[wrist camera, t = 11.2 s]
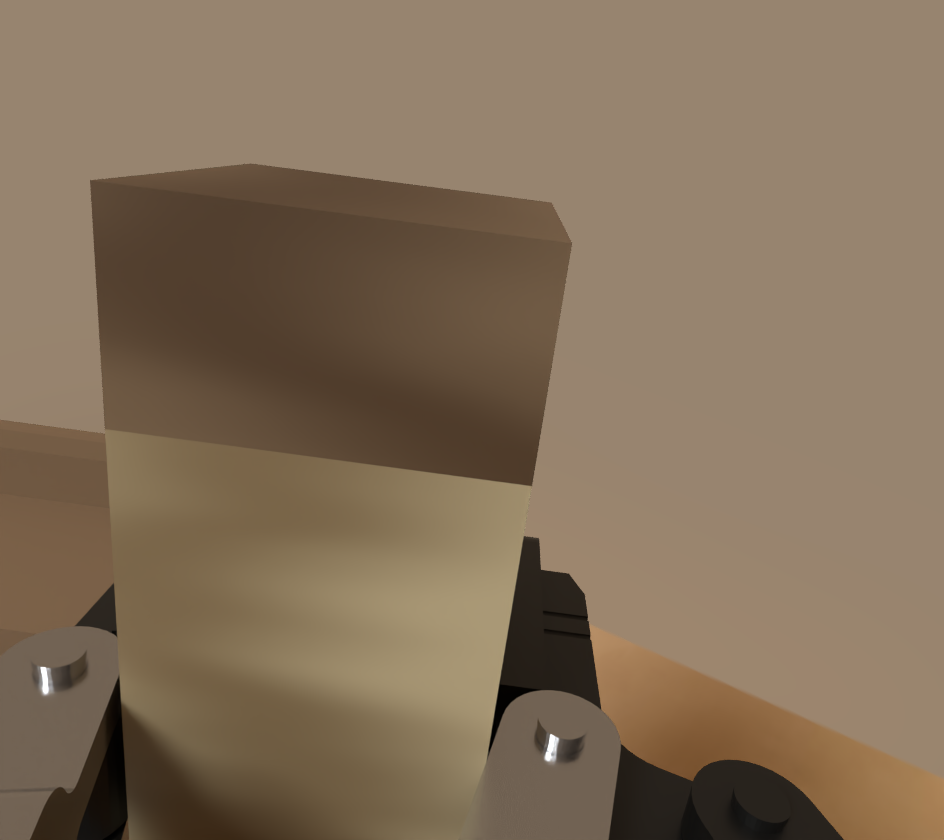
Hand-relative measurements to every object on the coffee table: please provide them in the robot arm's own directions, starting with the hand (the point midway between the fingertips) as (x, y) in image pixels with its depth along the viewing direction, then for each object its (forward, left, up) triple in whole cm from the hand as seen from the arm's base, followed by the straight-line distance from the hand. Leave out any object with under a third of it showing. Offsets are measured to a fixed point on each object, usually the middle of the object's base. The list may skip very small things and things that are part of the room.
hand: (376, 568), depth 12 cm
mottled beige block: (0, +3, -10) cm, 10 cm away
